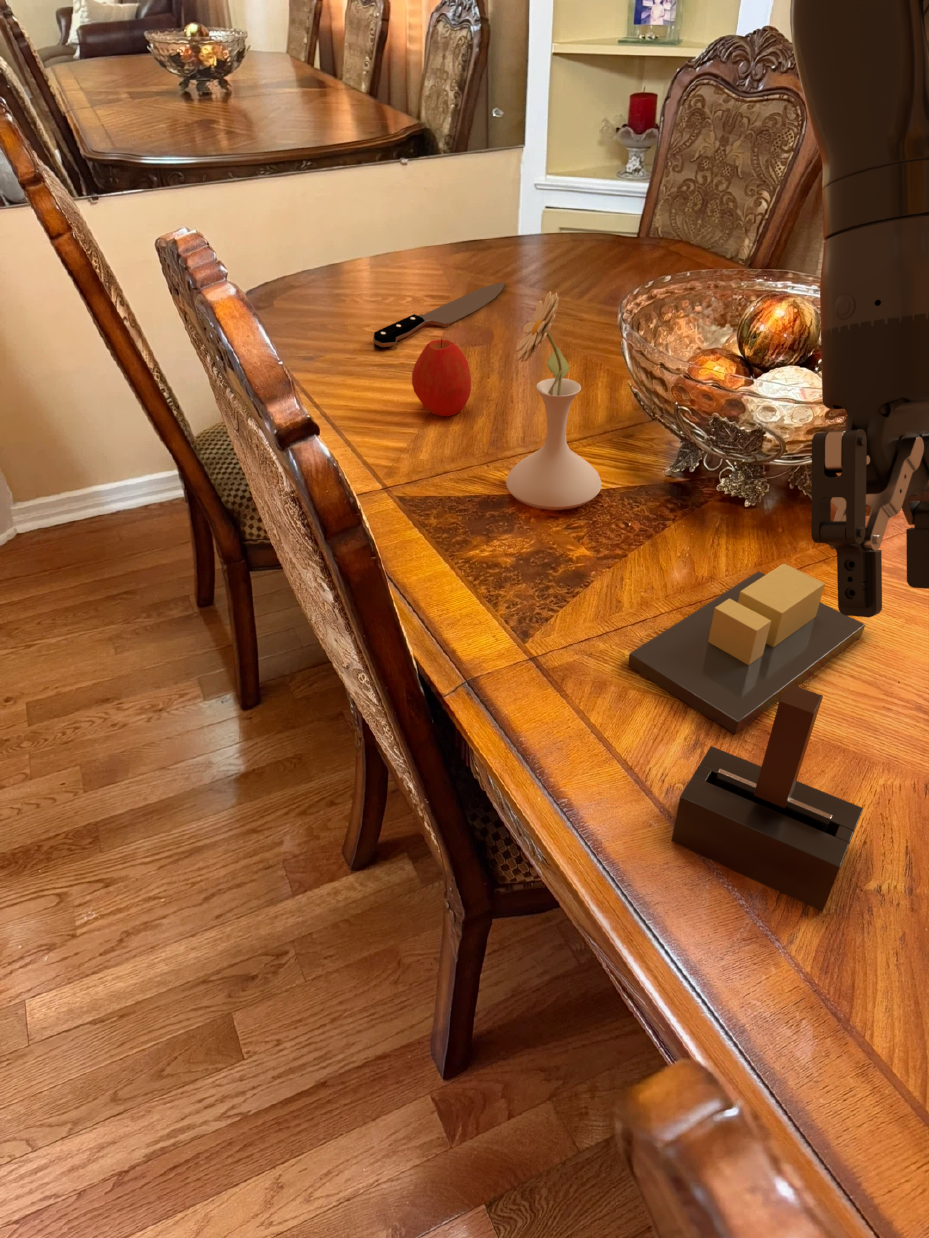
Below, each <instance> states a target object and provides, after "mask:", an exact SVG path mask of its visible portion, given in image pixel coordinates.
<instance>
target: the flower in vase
mask: <svg viewBox="0 0 929 1238" xmlns="http://www.w3.org/2000/svg"><path fill="white" fill-rule="evenodd" d="M559 299H560V297H559V296H558V292H555V293H554V294H552V291H551V290H550V291H549V292H548V293H547V295H546V296H545V299H544V302H543V301H542V300H538V302H537V304H536V307H535V311H534V313H533V315H532V321H529V322H527V323H526V324H525V325H524V327H523V330H522V331H523V333H524V334H526V335H525V336H524V337H522V339H521V340H520V342H519V343H518V344H517V346H516V348H515V352H516V353H518V352H520V353H519V354H518V356H517V357H516V361H520V362H521V363H526V362H527V361H528V360H530V359H531V358H532V357H533V356H534V354H535V353H536V352H537V351H538V349H539V348H540V346H541V344H543V342H544V341H545V339H546V337H547V339H548V341H549V343H550V345H551V347H552V350H553V351H552V352H551V353H550V355H549V356H548V359H547V362H546V365H547V368H548V369H549V370H550V372H551V373H552V375H553V376H554V377H552V378H551V377H550V378H545V379H543V380H541V381H539V382H538V383H537V384H536V385H535V388H536V391H537V392H538V394H539V395H540V396H541V399H542V401H543V404H544V408H545V414H546V415H545V416H546V434H545V440H544V443H543V445H542V446H541V447H540V448H539V449H537V450H535V452H532V453H531V454H529V455H527V456H526V457H524V458H522V459H521V460H519V462H517V464H515V465H514V466H513V467H512V468H511V469H510V470H509V473H508V475H507V477H506V479H505V480H506V481H505V485H506V487H507V490H508V491H509V492H510V494H511V495H512V496H513V497H514V498H515V499H516V500H517V501H519V502H520V503H522V504H524V505H527V506H529V507H533V508H536V509H543V510H549V511H550V510H551V511H560V510H561V511H562V510H569V509H570V510H571V509H576V508H578V507H582V506H584V505H586V504H588V503H590V502H591V501H593V500H594V499H595V498H596V497H597V495H598V494H599V493H600V491H601V490H602V486H603V485H602V480H601V477H600V474H599V472H598V471H597V469H596V468H594V466H593V465H591V463H590V462H588V461H587V460H586V459H584V458H583V457H582V456H580V455H579V454H577V453H576V452H575V451H573V450H571V448H570V447H569V445H568V443H567V424H568V423H567V422H568V419H569V412H570V409H571V405H572V403H573V401H574V400H575V398H576V396H577V395H578V394H579V393H580V391H581V390H582V385H581V384H580V383H579V382H577V381H576V380H573V379H570V378H566V377H565V376H566V375H567V374H568V373H569V371H570V369H571V368H570V365H569V363H568V361H567V360H566V358H565V356H564V355H563V353H562V351H561V349H560V347H559V345H557V346H556V343H555V341H554V339H553V337H552V335H551V332H550V329H551V327H552V324H553V323H554V321H555V318H556V314H557V313H556V312H557V311H558V306H559Z"/></svg>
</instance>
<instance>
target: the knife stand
mask: <svg viewBox="0 0 929 1238" xmlns="http://www.w3.org/2000/svg"><path fill="white" fill-rule="evenodd" d="M761 767H762V765H759V764H757V763H754V762H752V761H750V760H747V759H744V758H742V757H739V756H736V755H734V754H732V753H729V752H727V751H725V750H722V749H719V748H717V747H715V746H712V745H710V746H709V748H708V749H707V751H706V753H705V754H704V757H703V758H702V760H701V761H700V763H699V764H698V766H697V768H696V769H695V771H694V773H693V775H692V776H691V778H690V780H689V781H688V782H687V784H686V786H685V787H684V789H683V791H682V793H681V795H680V796H679V799H678V805H677V810H676V814H675V820H674V825H673V830H672V835H671V839H670V840H671V842H672V843H674V844H676V845H678V846H680V847H682V848H684V849H687V850H688V851H691V852H693V853H696V854H698V855H699V856H702V857H704V858H706V859H708V860H710V861H713V862H714V863H717V864H719V865H721V866H723V867H725V868H727V869H729V870H731V871H734V872H735V873H738V874H740V875H742V876H745V877H747V878H749V879H751V880H753V881H756V882H757V883H759V884H761V885H763V886H765V887H768V888H770V889H772V890H775V891H777V892H779V893H781V894H783V895H785V896H787V897H790V898H791V899H793V900H795V901H798V902H800V903H802V904H804V905H806V906H808V907H811V908H812V909H815V910H817V911H819V912H822V913H823V912H824V911H825V908H826V905H827V903H828V901H829V900H828V899H829V897H830V895H831V892H832V889H833V887H834V884H835V882H836V880H837V877H838V874H839V872H840V869H841V867H842V864H843V862H844V859H845V856H846V854H847V851H848V849H849V846H850V844H851V842H852V839H853V836H854V834H855V831H856V828H857V826H858V823H859V821H860V818H861V816H862V813H863V810H864V807H862V806H859V805H857V804H855V803H852V802H851V801H847V800H845V799H842V798H840V797H837V796H835V795H833V794H830V793H827V792H825V791H822V790H821V789H817V788H816V787H813V786H811V785H808V784H805V783H803V782H801V781H798V780H797V781H796V784H795V787H794V790H793V793H792V795H791V797H790V798H792V799H794V800H797V801H799V802H801V803H804V804H806V805H809V806H811V807H813V808H816V809H818V810H821V811H823V812H825V813H828V814H830V815H832V818H831V821H830V824H829V826H828V829H827V832H826V833H825V832H823V831H820V830H818V829H816V828H813V827H811V826H809V825H806V824H804V823H802V822H799V821H797V820H795V819H792V818H790V817H788V816H785V815H783V814H781V813H778V812H776V811H774V810H771V809H769V808H767V807H764V806H762V805H760V804H757V803H755V802H752V801H750V800H748V799H745V798H743V797H741V796H738V795H736V794H734V793H731V792H729V791H727V790H724V789H722V788H720V787H717V786H715V782H716V778H717V774H718V771H719V769H723V770H725V771H727V772H730V773H732V774H735V775H737V776H739V777H742V778H744V779H746V780H749V781H751V782H754V783H756V784H757V781H758V778H759V774H760V770H761Z"/></svg>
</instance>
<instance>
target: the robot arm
mask: <svg viewBox="0 0 929 1238" xmlns="http://www.w3.org/2000/svg"><path fill="white" fill-rule="evenodd" d="M789 5H790V6H789V8H790V9H789V25H790V26H789V27H790V36H791V44H792V51H793V56H794V61H795V65H796V69H797V74H798V78H799V82H800V85H801V91H802V93H803V94H802V95H803V98H804V103H805V107H806V111H807V114H808V119H809V121H810V126H811V129H812V132H813V135H814V138H815V141H816V144H817V148H818V151H819V154H820V158H821V166H822V174H821V175H822V177H821V179H822V180H821V183H822V184H821V191H822V230H823V233H822V234H823V245H822V247H823V248H822V249H823V251H822V261H821V269H820V279H819V312H820V313H819V314H820V316H819V318H820V352H821V354H820V355H821V357H820V358H821V361H820V362H821V399H822V404H823V405H824V406H825V407H826V408H827V409H829V410H843V409H844V410H845V412H846V419H845V428H844V430H835V431H834V430H833V431H822V432H819V431H818V432H815V433H814V434H813V437H812V439H811V497H810V498H811V499H810V500H811V501H810V502H811V504H810V505H811V510H810V512H811V515H810V516H811V517H810V519H811V520H810V522H811V524H810V525H811V526H810V527H811V528H810V530H811V531H810V532H811V533H810V535H811V539H812V541H813V542H814V544H825V545H828V546H829V547H830V549H831V550H835V552H836V571H837V572H836V574H837V578H836V579H837V606H838V607H837V609H838V611H839V612H841V613H842V614H843V615H847V616H849V617H857V618H858V617H860V618H872V617H875V616H877V615H879V614H881V612H882V610H883V566H882V565H883V563H882V562H883V559H882V553H883V552H882V551H883V550H882V549H880V548H881V545H882V542H883V539H884V535H885V532H886V530H887V526H888V523H889V520H890V519H891V518H893V517H896V516H897V515H898V514H899V513H900V512H901V510H902V513H903V516H904V518H905V520H906V523H907V524H908V525H909V526H913V527H909V528H906V530H905V532H906V533H905V535H906V536H905V537H906V538H905V539H906V583H907V585H908V586H909V587H910V588H913V589H927V590H929V0H790V4H789ZM838 474H840V475H838ZM832 505H833V506H834V507H835V508H836V512H835V515H834V519H833V520H831V519H832V517H831V516H832V513H831V512H832V511H831V510H832ZM866 517H868V520H866ZM866 521H867V522H866Z"/></svg>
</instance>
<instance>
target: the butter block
mask: <svg viewBox="0 0 929 1238" xmlns="http://www.w3.org/2000/svg"><path fill="white" fill-rule="evenodd" d="M825 585H826V583H825V582H824V581H822V580H819V579H818V578H815V577H813V576H811V575H809V574H807V573H805V572H803V571H801V570H799V569H796V568H795V567H793V566H791V565H788V564H786V563H784V562H783V563H782V564H780V565H779V566H777V567H775V568H774V569H772V570H771V571H769V572H768V573H766V574H765V576H763V577H762V578H760V579H759V580H757V581H755V582H754V583H752V584H751V585H749V586H748V587H746V588H745V589H743V590H742V591H740V595H739V599H738V603H739V604H741V605H743V606H745V607H747V608H748V609H750V610H752V611H754V612H756V613H758V614H760V615H762V616H763V617H765V618H767V619H769V620H771V624H770V628H769V632H768V636H767V640H766V644H768V645H770V646H772V647H775V646H776V645H777V644H779V643H780V642H782V641H783V640H784V639H786V638H787V637H788V636H790V635H791V634H793V633H794V632H795V631H797V630H798V629H800V628H801V627H802V626H804V625H805V624H806V623H808V622H809V621H811V620H812V619H813V618H815V617H816V614H817V610H818V607H819V603H820V602H821V599H822V596H823V594H824V593H823V592H824V589H825Z"/></svg>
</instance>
